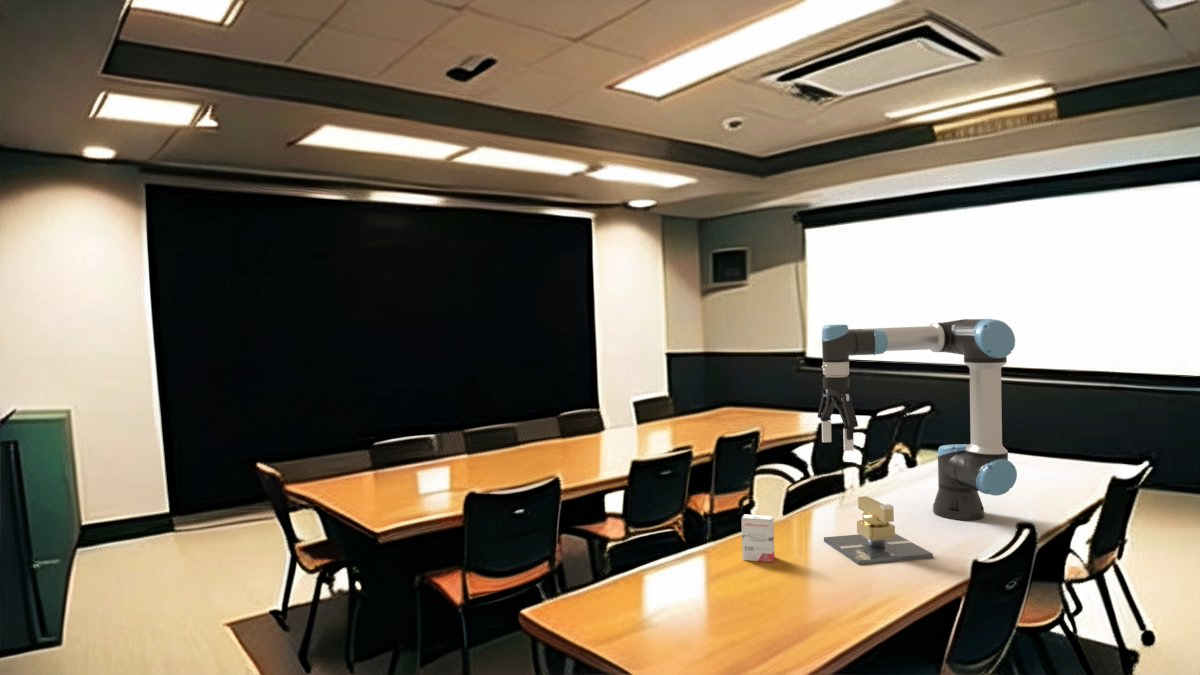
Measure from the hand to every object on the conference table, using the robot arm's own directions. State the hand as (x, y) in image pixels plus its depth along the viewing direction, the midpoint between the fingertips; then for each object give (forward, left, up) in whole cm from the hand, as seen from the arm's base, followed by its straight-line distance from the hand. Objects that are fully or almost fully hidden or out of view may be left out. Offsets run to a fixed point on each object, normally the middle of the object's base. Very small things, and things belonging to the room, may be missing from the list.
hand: (837, 446), depth 209 cm
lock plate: (-5, +12, -28) cm, 31 cm away
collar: (-5, +12, -24) cm, 27 cm away
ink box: (+30, +11, -28) cm, 42 cm away
